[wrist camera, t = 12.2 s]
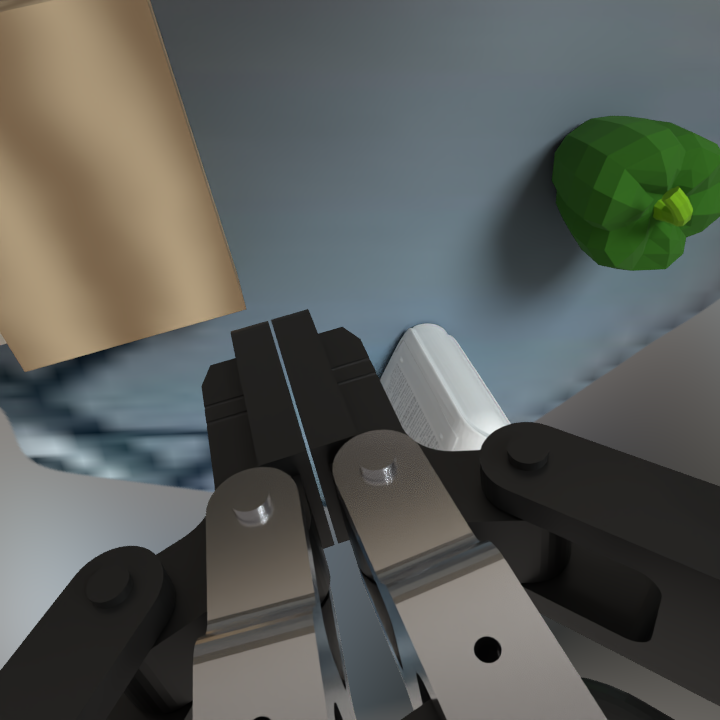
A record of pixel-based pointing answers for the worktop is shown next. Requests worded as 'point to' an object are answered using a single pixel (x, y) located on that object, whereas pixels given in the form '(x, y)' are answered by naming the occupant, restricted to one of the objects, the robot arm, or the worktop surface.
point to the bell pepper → (636, 189)
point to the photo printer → (439, 392)
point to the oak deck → (99, 186)
